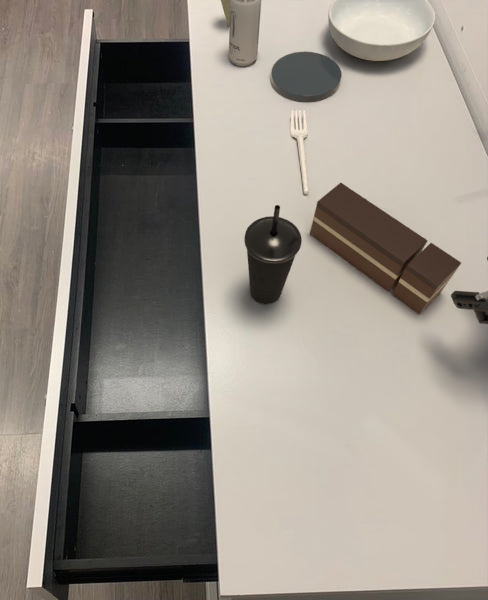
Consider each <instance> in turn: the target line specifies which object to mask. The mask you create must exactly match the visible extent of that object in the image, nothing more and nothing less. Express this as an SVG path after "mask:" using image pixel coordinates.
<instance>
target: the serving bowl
mask: <svg viewBox="0 0 488 600" xmlns="http://www.w3.org/2000/svg"><path fill="white" fill-rule="evenodd" d="M327 16H328V17H327V18H328V20H327V21H328V28H329V32H330V35H331V37H332V39H333V40H334V42H335V43H336V44H337V46H339V47H340V48H341V49H342V50H343V51H345V52H346V53H348V54H349V55H351V56H353V57H356V58H359V59H362V60H365V61H372V62H385V61H392V60H396V59H399V58H402V57H405V56H406V55H408V54H410V53H412V52H415V50H416V49H418V48H419V47H420V46H421V45H422V44H423V43H425V41H426V39H427V38H428V36H429V35H430V33H431V31H432V30H433V28H434V25H435V22H436V13H435V10H434V7H433V6H432V4H431V3H430V2H429V1H428V0H332V2H331V3H330V5H329V8H328V15H327Z"/></svg>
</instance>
